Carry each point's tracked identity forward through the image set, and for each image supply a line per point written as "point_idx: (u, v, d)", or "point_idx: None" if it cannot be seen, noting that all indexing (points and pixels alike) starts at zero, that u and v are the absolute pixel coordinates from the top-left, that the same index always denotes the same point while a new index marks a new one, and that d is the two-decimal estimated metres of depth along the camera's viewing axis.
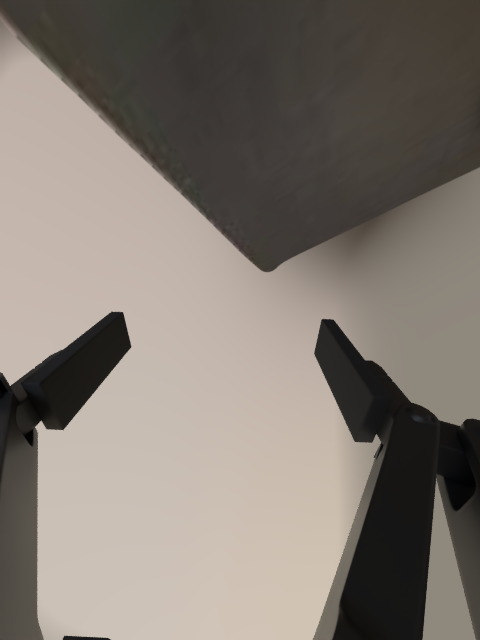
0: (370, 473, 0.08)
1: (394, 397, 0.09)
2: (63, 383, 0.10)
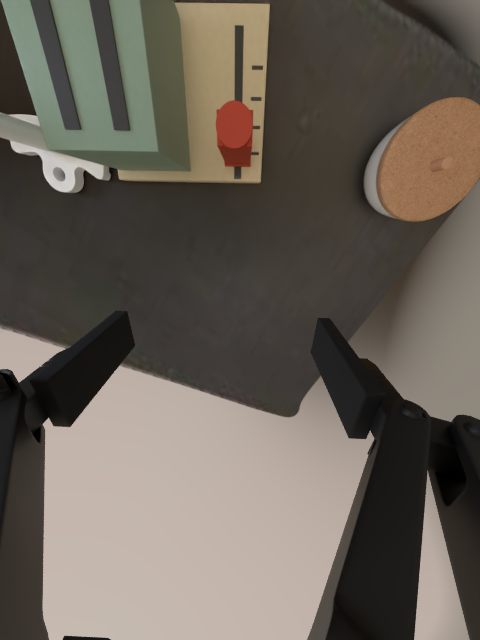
0: (364, 469, 0.08)
1: (387, 394, 0.09)
2: (70, 381, 0.10)
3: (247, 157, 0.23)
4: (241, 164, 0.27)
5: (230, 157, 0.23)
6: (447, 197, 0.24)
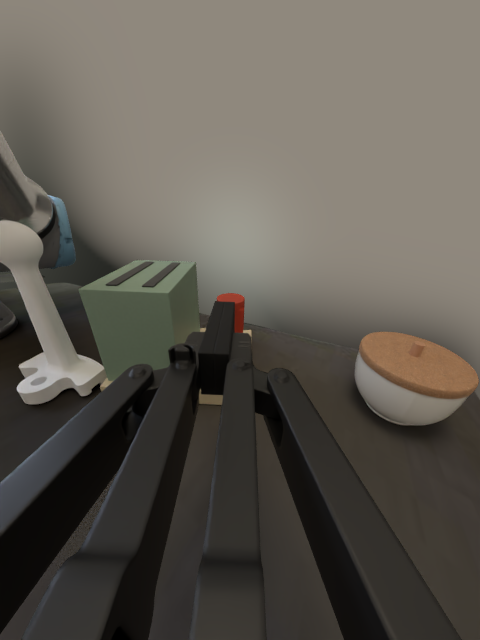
0: None
1: (241, 357, 0.11)
2: None
3: None
4: None
5: None
6: (459, 373, 0.22)
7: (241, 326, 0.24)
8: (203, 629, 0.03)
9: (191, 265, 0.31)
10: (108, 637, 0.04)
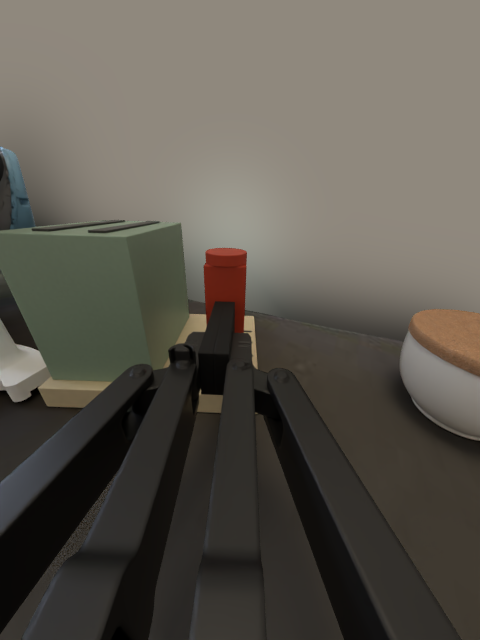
0: None
1: (241, 357, 0.11)
2: None
3: (239, 328, 0.18)
4: None
5: None
6: None
7: (242, 293, 0.16)
8: (203, 629, 0.03)
9: (174, 224, 0.23)
10: (108, 637, 0.04)
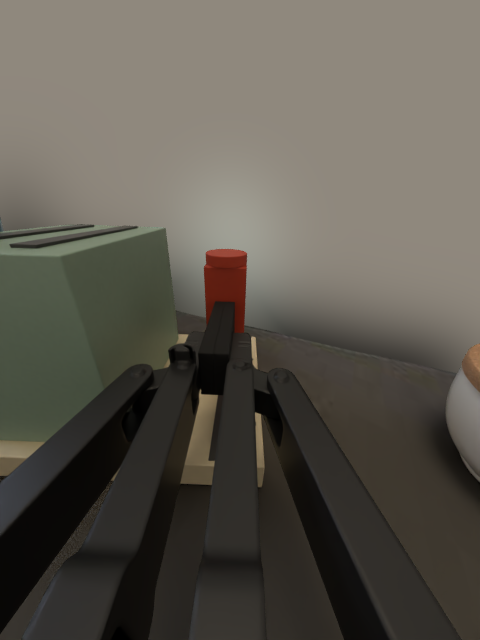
0: None
1: (241, 357, 0.11)
2: None
3: (239, 329, 0.18)
4: None
5: None
6: None
7: (242, 295, 0.16)
8: (203, 629, 0.03)
9: (155, 229, 0.18)
10: (108, 637, 0.04)
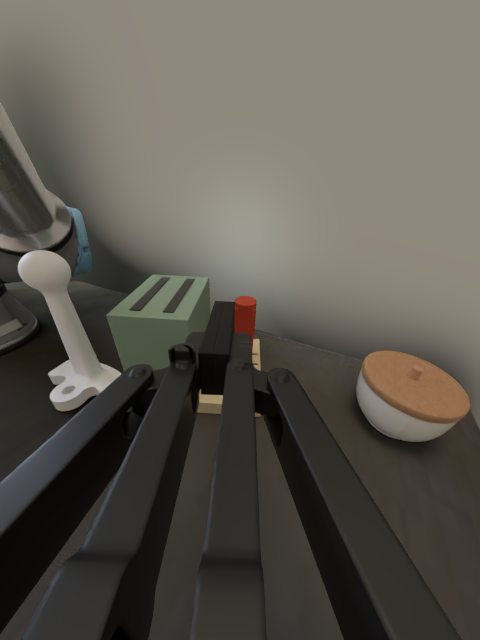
0: None
1: (241, 357, 0.11)
2: None
3: (251, 339, 0.33)
4: None
5: None
6: (452, 398, 0.24)
7: (253, 322, 0.31)
8: (203, 629, 0.03)
9: (205, 282, 0.33)
10: (108, 637, 0.04)
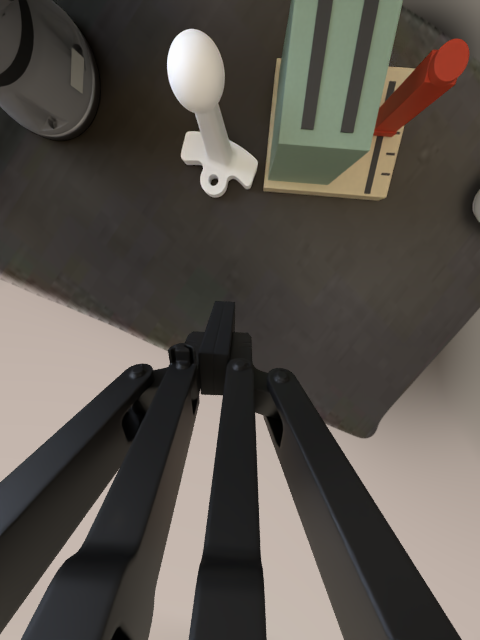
0: None
1: (241, 357, 0.11)
2: None
3: (415, 114, 0.26)
4: (388, 131, 0.30)
5: (398, 114, 0.26)
6: None
7: (436, 97, 0.23)
8: (203, 629, 0.03)
9: None
10: (108, 637, 0.04)
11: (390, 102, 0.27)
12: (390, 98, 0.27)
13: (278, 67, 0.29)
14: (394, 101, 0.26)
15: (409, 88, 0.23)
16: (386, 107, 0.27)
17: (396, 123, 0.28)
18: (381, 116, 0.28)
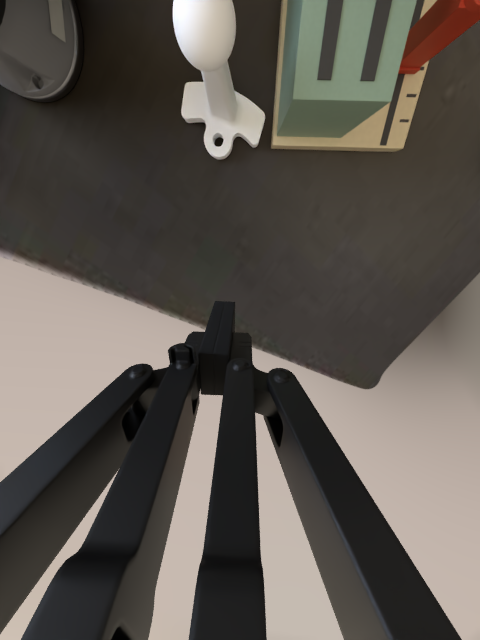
0: None
1: (241, 357, 0.11)
2: None
3: (443, 46, 0.23)
4: (411, 68, 0.27)
5: (424, 46, 0.23)
6: None
7: (470, 25, 0.20)
8: (203, 629, 0.03)
9: None
10: (108, 637, 0.04)
11: (415, 31, 0.23)
12: (416, 26, 0.23)
13: None
14: (421, 30, 0.23)
15: (440, 14, 0.20)
16: (411, 38, 0.24)
17: (421, 58, 0.25)
18: (404, 49, 0.25)
